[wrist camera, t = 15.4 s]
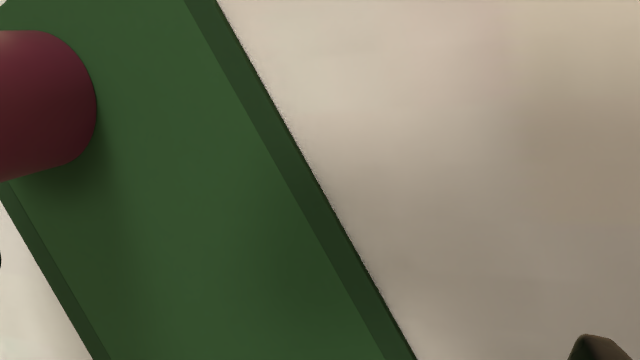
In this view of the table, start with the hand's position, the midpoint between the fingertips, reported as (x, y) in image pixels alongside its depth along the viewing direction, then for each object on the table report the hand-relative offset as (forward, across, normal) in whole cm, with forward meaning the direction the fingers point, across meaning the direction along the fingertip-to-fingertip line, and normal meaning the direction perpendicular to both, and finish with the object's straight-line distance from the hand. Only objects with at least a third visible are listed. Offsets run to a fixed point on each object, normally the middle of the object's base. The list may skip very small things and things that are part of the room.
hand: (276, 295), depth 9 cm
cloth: (+13, +6, +8) cm, 17 cm away
